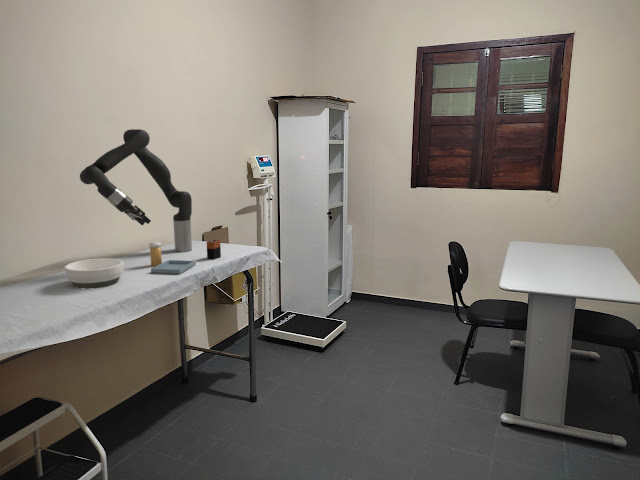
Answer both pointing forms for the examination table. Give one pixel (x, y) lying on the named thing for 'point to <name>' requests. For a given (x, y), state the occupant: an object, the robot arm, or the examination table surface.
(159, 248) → the pill bottle
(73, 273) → the bowl
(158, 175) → the robot arm
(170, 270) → the tray
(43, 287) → the examination table surface
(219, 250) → the battery
